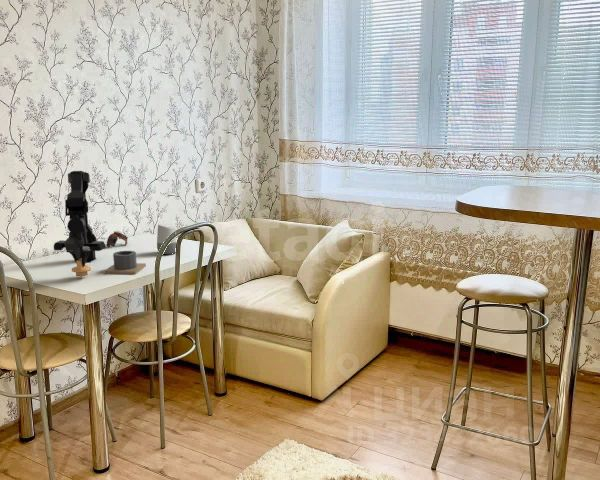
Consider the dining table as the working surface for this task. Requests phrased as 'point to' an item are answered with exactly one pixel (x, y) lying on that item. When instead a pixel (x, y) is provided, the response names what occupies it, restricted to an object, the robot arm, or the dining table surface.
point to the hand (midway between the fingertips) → (81, 266)
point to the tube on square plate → (125, 263)
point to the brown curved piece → (115, 238)
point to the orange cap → (81, 269)
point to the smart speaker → (162, 236)
